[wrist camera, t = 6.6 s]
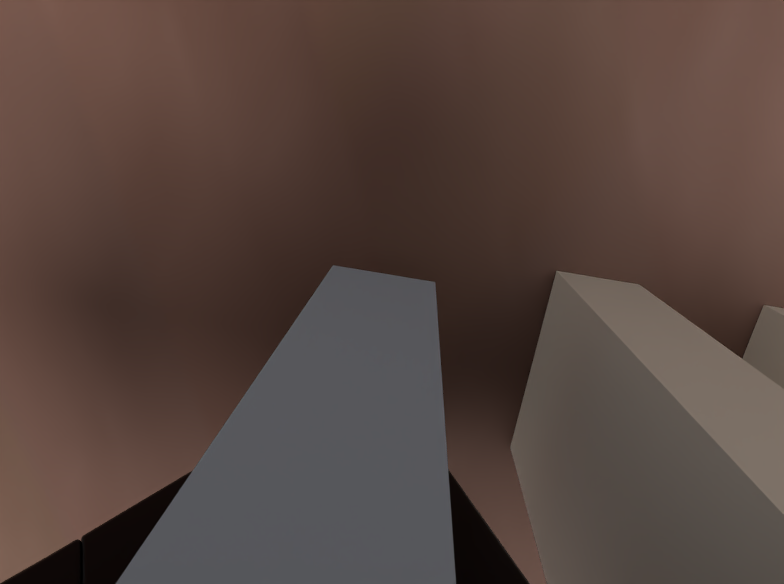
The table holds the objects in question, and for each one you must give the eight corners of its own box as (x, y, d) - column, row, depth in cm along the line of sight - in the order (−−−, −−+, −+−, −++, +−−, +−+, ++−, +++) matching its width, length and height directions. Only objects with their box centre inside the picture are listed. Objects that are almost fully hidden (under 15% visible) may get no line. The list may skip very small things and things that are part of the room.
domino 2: (583, 459, 14) (839, 992, 5) (509, 447, 14) (646, 957, 5) (639, 284, 12) (1124, 635, 4) (556, 270, 12) (852, 589, 4)
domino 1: (395, 495, 11) (307, 1581, 3) (306, 480, 11) (-43, 1514, 3) (435, 282, 10) (502, 1236, 1) (332, 265, 10) (-237, 1099, 1)
